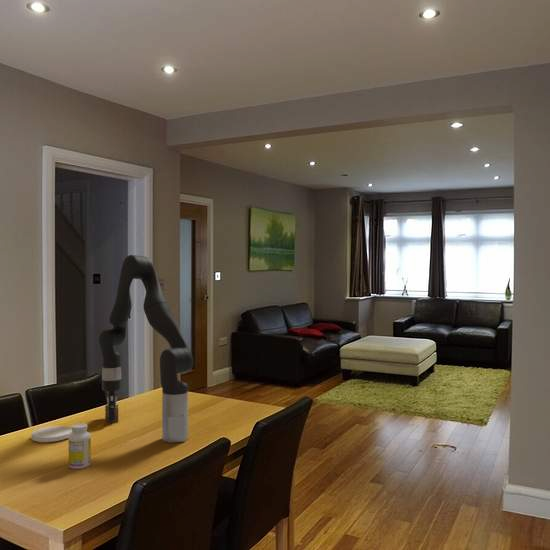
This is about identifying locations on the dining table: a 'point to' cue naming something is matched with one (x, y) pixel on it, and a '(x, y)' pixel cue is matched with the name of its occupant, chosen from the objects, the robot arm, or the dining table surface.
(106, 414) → the walnut block
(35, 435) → the plastic lid
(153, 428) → the dining table surface
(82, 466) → the supplement bottle
